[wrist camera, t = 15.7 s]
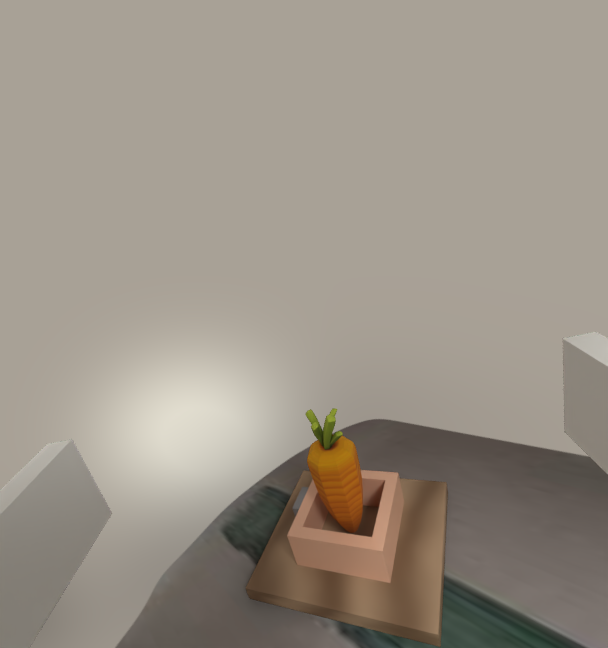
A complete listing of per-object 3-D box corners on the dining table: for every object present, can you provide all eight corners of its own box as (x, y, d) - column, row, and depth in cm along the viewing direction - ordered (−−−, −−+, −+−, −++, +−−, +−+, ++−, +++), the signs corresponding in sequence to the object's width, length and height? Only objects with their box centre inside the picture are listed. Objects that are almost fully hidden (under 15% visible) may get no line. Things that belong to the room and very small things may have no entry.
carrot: (325, 521, 43) (290, 408, 38) (367, 506, 43) (337, 392, 38) (337, 560, 38) (298, 435, 33) (384, 542, 38) (352, 417, 34)
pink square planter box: (404, 500, 43) (398, 472, 41) (390, 583, 35) (382, 551, 33) (319, 492, 47) (312, 466, 46) (290, 563, 39) (279, 534, 38)
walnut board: (447, 492, 44) (446, 482, 44) (440, 646, 30) (438, 634, 30) (306, 479, 52) (303, 470, 51) (249, 598, 38) (245, 588, 38)
